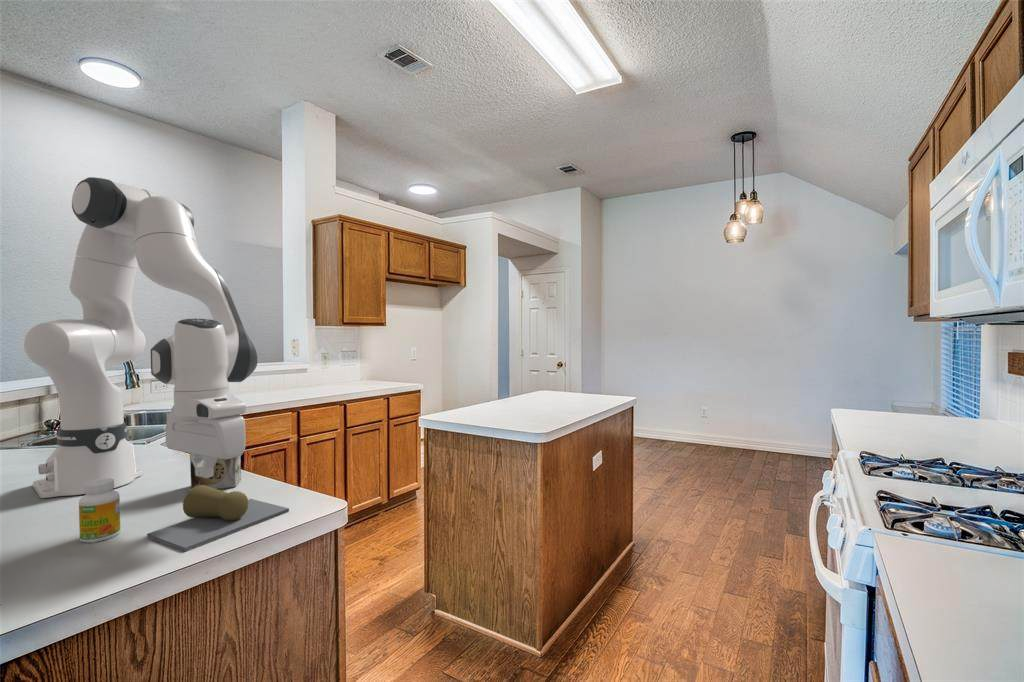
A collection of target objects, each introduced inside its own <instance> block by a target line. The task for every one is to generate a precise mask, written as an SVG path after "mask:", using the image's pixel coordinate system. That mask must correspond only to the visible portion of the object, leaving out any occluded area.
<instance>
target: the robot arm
mask: <svg viewBox="0 0 1024 682" xmlns="http://www.w3.org/2000/svg"><path fill="white" fill-rule="evenodd" d="M71 209H72V211H73V213H74V216H76V217H77V219H78V221H80V222H81V223H84V224H86V225H85V227H84V228H83V231H82V232H81V233H82V234H81V236H80V239H79V242H78V245H77V248H76V252H75V257H74V260H73V261H74V262H73V266H72V267H73V268H72V271H71V276H70V277H71V278H70V282H69V290H70V293H71V294H72V295H73V296H74V298H76V299H78V301H79V302H80V305H81V308H82V314H83V317H82V319H71V318H70V319H69V318H66V319H64V318H63V319H56V320H50V321H46V322H42V323H41V322H40V323H38V324H36V325H34V326H33V327H31V328H30V329H29V330H28V332H27V333H26V335H25V337H24V341H23V348H24V351H25V354H26V356H27V357H28V359H29V360H30V361H31V362H32V363H34V364H35V365H37V366H39V367H40V368H42V369H43V370H44V371H45V372H46V374H48V376H49V378H50V379H51V381H52V383H53V385H54V387H55V390H56V393H57V397H58V402H59V403H58V405H59V415H60V417H59V418H60V428H59V429H58V431H57V432H58V433H57V435H56V445H57V446H56V448H55V449H54V450H53V452H52V453H51V454H50V455H49V457H47V459H46V460H45V463H40V464H38V467H37V469H38V475H45V477H43V478H41V479H40V478H39V479H37V480H33V482H32V484H31V485H32V488H33V489H34V491H35V492H36V494H37V495H38V496H39V498H40V499H47V498H48V499H50V498H54V497H55V498H56V497H63V496H64V497H65V496H66V497H67V496H78V495H86V493H84V484H85V483H87V482H90V481H94V480H98V479H114V488H113V489H115V488H119V487H122V486H126V484H127V485H128V484H130V483H132V482H133V481H135V479H137V478H138V477H142V476H143V470H140V469H139V470H138V469H137V467H136V466H137V465H136V458H135V449H134V448H135V447H134V444H133V443H132V442H131V441H128V440H127V439H126V438H127V437H128V436H127V435H128V433H127V432H128V428H127V422H125V421H124V417H125V415H124V413H125V412H124V393H123V390H122V389H121V388H120V386H117V385H116V384H114V383H113V382H112V381H111V379H110V378H109V376H108V373H107V370H106V368H105V366H116V365H122V364H123V363H127V362H130V361H133V360H136V359H137V358H138V357H140V356H141V355H142V354H143V353H144V351H145V348H146V345H147V344H146V343H147V341H146V337H145V334H144V332H143V331H142V330H141V329H140V327H139V326H138V324H137V323H136V320H135V316H134V315H135V314H134V310H133V293H134V287H135V281H136V276H137V271H138V268H139V269H140V271H141V273H142V274H143V275H144V276H145V277H146V278H148V279H149V280H150V281H152V282H154V283H155V284H157V285H159V286H161V287H164V288H166V289H168V290H173V291H176V292H178V293H182V294H185V295H188V296H189V297H192V298H195V299H197V300H198V301H199V302H201V303H203V304H204V305H205V306H206V307H207V308H208V310H209V312H210V315H211V319H210V318H208V319H206V318H185V319H181V320H178V321H176V323H175V324H174V329H173V334H172V335H171V336H169V337H167V338H166V337H165V338H162V339H160V340H159V341H158V342H156V344H154V346H152V347H151V348H150V369H151V370H150V372H151V373H150V374H151V376H153V377H154V378H155V379H156V380H158V381H159V382H160V383H163V384H165V385H173V386H174V387H173V406H172V407H171V409H170V410H171V411H170V412H169V413H168V414H167V418H166V424H165V425H166V426H165V444H166V447H167V449H169V450H172V451H179V452H183V453H188V454H190V453H191V460H192V462H193V465H194V467H195V475H196V476H198V477H202V478H209V477H212V476H213V475H214V466H215V463H216V461H217V459H218V458H219V459H230V458H234V457H238V456H240V457H242V455H243V454H244V452H245V449H246V438H247V437H246V422H245V418H244V416H243V415H244V414H245V413H247V412H246V410H247V407H246V406H247V405H246V403H245V402H243V400H241V399H239V398H237V397H236V396H235V395H234V394H233V393H231V392H230V383H242V382H243V381H245V380H247V378H249V377H250V376H251V375H252V374H253V372H254V371H255V370H256V369H257V366H258V353H257V350H256V347H255V345H254V344H253V342H252V340H251V338H250V337H249V335H248V333H247V331H246V329H245V327H244V325H243V323H242V320H241V317H240V315H239V312H238V309H237V307H236V305H235V302H234V300H233V297H232V295H231V293H230V290H229V288H228V286H227V283H226V281H225V279H224V278H223V276H222V274H221V273H220V272H219V271H218V270H216V269H215V268H214V267H212V266H211V265H210V264H209V263H208V261H206V260H205V258H204V256H203V255H202V253H201V252H200V250H199V246H198V241H197V237H196V233H195V230H194V227H195V219H194V214H193V212H192V211H191V209H190V208H189V207H187V206H186V205H185V204H183V203H181V202H179V201H177V200H175V199H174V198H171V197H169V196H168V197H167V196H162V195H161V194H158V193H155V192H153V191H150V190H147V189H144V188H138V187H135V186H130V185H127V184H122V183H118V182H114V181H112V180H111V179H106V178H102V177H93V176H92V177H91V176H90V177H89V176H88V177H86V178H85V179H82V180H81V181H79V182H78V184H77V185H76V186H75V188H74V190H73V193H72V197H71Z"/></svg>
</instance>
